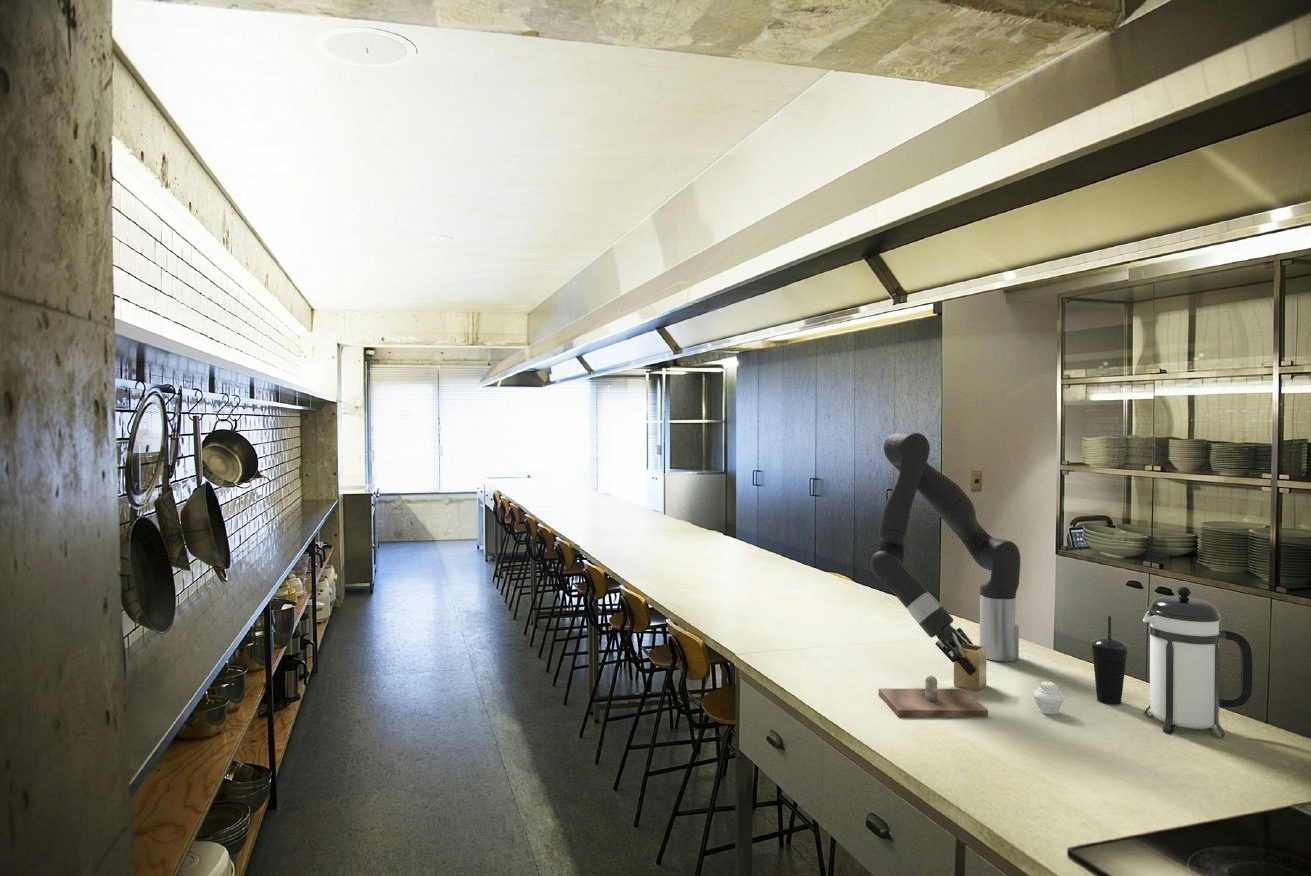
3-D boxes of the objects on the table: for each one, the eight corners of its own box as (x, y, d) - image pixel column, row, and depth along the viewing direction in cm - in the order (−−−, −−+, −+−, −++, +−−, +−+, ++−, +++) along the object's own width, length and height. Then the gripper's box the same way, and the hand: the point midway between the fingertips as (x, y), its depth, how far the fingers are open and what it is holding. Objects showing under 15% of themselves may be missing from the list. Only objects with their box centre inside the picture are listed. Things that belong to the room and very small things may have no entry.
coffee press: (1208, 747, 149) (1209, 597, 149) (1126, 720, 163) (1127, 583, 163) (1253, 732, 157) (1254, 589, 157) (1171, 707, 171) (1172, 577, 171)
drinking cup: (1123, 697, 177) (1123, 613, 177) (1132, 708, 170) (1132, 621, 170) (1086, 694, 180) (1087, 611, 180) (1094, 704, 173) (1094, 618, 173)
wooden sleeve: (961, 679, 190) (961, 642, 190) (986, 684, 186) (986, 646, 186) (953, 685, 185) (953, 647, 185) (979, 691, 182) (979, 652, 182)
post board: (961, 694, 179) (961, 666, 179) (988, 716, 165) (988, 686, 165) (878, 694, 179) (878, 666, 179) (897, 716, 165) (898, 685, 165)
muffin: (1026, 709, 170) (1027, 678, 170) (1046, 705, 172) (1046, 675, 172) (1050, 718, 164) (1051, 687, 164) (1070, 715, 166) (1070, 683, 166)
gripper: (930, 610, 185) (980, 668, 178) (949, 600, 196) (997, 654, 189) (908, 628, 188) (957, 685, 181) (929, 617, 200) (975, 671, 192)
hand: (977, 669), depth 185 cm, fingers closed on wooden sleeve, 6 cm apart
